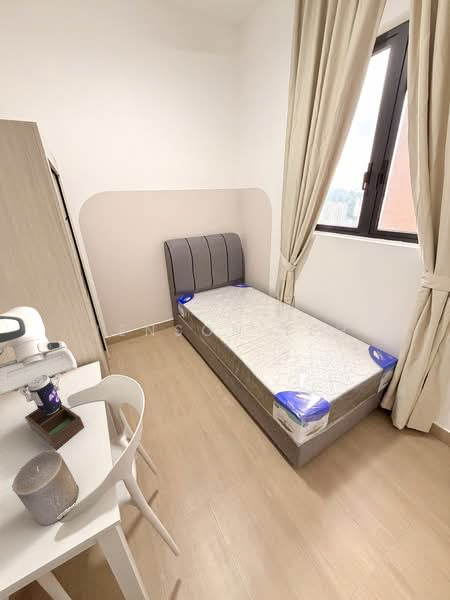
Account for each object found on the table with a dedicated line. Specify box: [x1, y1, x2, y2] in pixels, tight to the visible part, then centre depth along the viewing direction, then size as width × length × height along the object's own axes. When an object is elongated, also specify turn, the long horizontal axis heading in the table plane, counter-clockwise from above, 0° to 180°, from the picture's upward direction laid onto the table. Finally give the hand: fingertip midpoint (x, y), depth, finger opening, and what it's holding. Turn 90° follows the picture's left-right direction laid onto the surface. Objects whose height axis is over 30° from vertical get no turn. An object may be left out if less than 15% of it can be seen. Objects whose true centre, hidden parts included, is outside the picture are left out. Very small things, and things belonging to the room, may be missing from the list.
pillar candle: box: [11, 450, 80, 527], centre depth 58 cm, size 10×10×15 cm
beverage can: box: [27, 375, 63, 415], centre depth 73 cm, size 6×6×12 cm
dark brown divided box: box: [24, 403, 85, 451], centre depth 81 cm, size 17×9×5 cm, turn 60°
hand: (44, 395), depth 72 cm, fingers closed on beverage can, 5 cm apart
